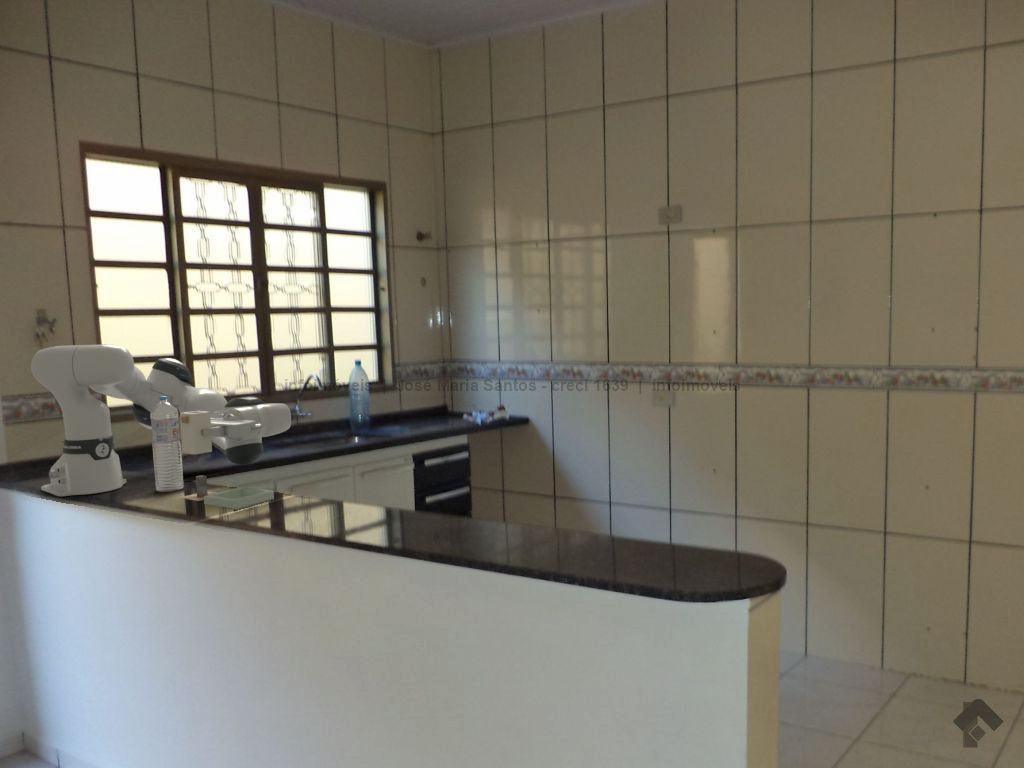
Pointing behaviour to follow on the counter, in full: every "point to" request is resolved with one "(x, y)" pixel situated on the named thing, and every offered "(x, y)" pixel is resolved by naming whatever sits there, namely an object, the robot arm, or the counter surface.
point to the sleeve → (195, 432)
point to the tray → (239, 498)
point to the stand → (199, 489)
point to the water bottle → (166, 447)
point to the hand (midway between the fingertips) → (194, 432)
